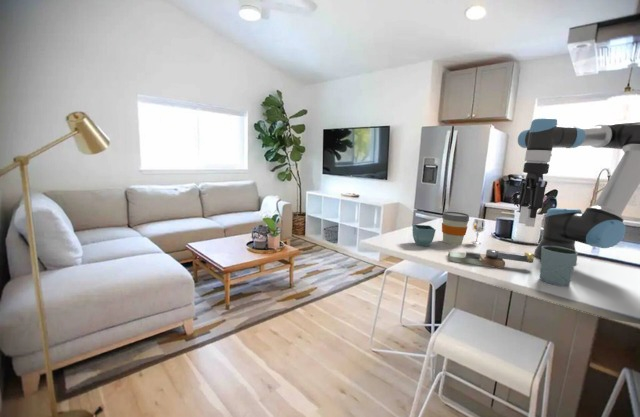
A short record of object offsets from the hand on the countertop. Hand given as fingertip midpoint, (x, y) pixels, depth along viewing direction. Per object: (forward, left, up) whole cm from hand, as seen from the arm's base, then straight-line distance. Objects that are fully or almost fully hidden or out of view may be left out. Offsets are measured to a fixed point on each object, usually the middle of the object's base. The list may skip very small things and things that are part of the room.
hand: (526, 224), depth 113 cm
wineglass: (+8, -38, -19) cm, 44 cm away
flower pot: (+35, -22, -19) cm, 46 cm away
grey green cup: (-10, +6, -19) cm, 22 cm away
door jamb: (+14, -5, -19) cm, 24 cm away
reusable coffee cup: (+20, -34, -19) cm, 44 cm away
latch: (+2, -5, -16) cm, 17 cm away
